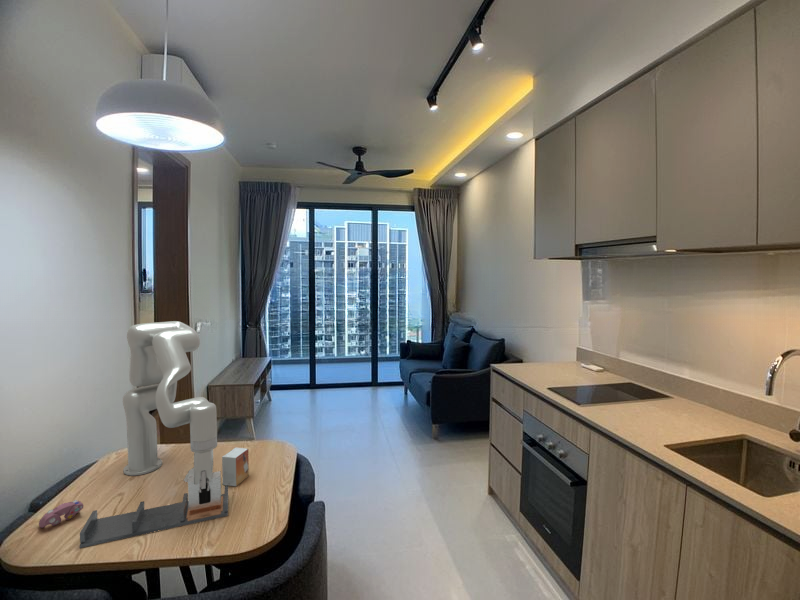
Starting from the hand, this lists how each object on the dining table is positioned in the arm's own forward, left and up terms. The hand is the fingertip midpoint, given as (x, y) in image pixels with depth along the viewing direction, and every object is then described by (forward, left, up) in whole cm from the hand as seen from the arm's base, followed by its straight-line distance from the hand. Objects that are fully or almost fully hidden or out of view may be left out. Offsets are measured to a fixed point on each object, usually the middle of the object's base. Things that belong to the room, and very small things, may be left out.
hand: (205, 498), depth 123 cm
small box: (-16, +9, -4) cm, 19 cm away
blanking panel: (0, 0, -2) cm, 2 cm away
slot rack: (0, -12, -4) cm, 13 cm away
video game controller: (-11, -40, -4) cm, 41 cm away
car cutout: (-20, -8, -4) cm, 22 cm away
